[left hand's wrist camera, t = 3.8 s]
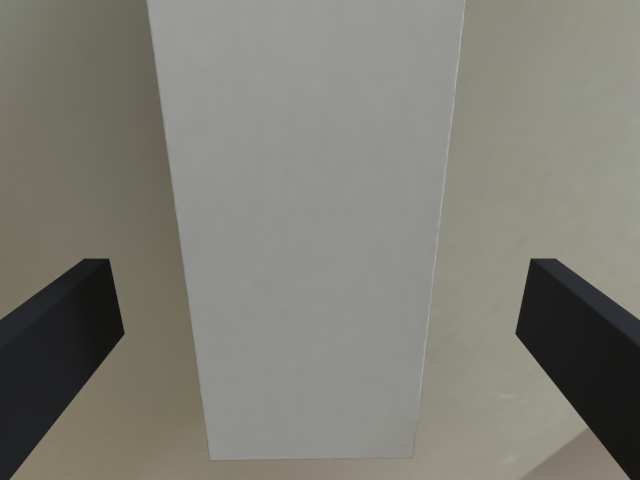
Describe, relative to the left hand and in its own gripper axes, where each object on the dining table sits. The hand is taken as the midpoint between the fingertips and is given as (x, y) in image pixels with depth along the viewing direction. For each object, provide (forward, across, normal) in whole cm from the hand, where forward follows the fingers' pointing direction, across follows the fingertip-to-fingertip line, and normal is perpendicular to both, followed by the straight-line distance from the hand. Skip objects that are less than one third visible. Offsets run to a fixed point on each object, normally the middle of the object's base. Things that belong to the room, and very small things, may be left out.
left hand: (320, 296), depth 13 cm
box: (+10, 0, -8) cm, 13 cm away
